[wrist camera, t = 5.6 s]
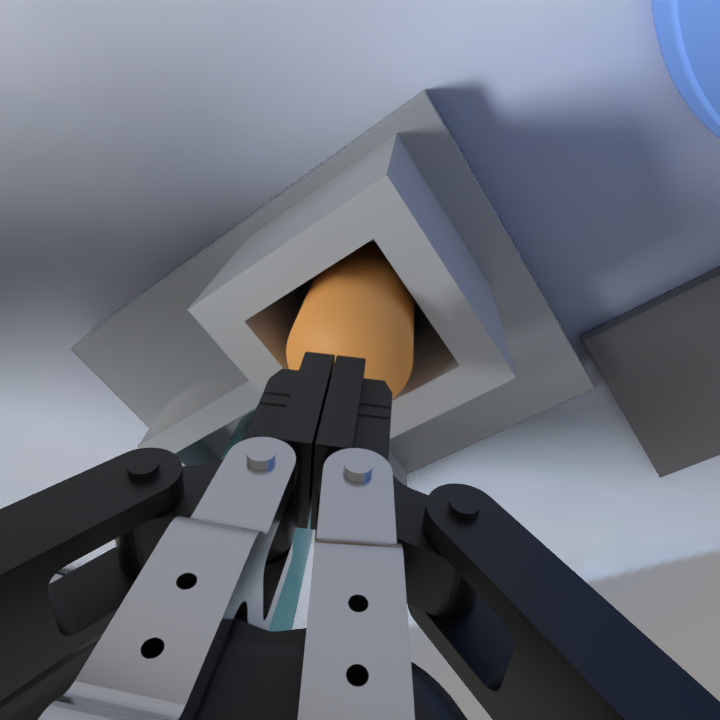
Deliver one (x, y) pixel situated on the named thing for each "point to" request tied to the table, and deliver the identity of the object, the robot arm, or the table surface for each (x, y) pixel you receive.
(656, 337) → the mat
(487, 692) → the robot arm
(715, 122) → the water jug
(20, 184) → the table surface
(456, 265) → the housing
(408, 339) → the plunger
